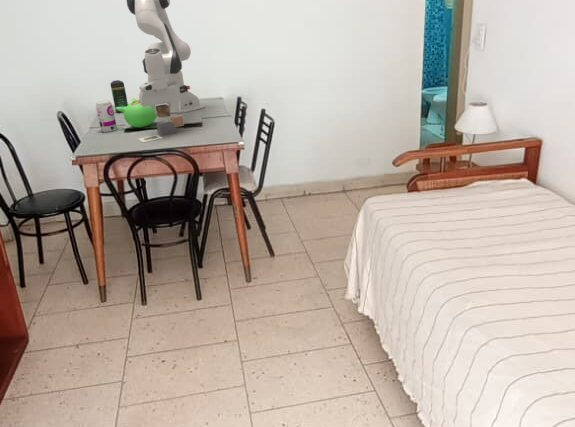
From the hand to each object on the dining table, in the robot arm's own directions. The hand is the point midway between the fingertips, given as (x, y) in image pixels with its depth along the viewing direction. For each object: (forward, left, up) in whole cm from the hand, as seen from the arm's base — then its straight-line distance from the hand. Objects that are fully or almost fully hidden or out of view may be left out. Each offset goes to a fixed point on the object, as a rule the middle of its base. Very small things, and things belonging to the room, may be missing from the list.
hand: (163, 112), depth 257 cm
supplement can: (+21, -31, -11) cm, 39 cm away
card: (+10, +4, -11) cm, 15 cm away
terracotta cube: (-10, -11, -11) cm, 18 cm away
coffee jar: (+2, -74, -11) cm, 75 cm away
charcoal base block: (0, 0, -11) cm, 11 cm away
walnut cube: (0, 0, -2) cm, 2 cm away
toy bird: (+5, -25, -11) cm, 28 cm away
